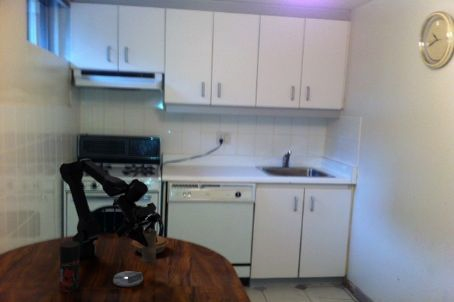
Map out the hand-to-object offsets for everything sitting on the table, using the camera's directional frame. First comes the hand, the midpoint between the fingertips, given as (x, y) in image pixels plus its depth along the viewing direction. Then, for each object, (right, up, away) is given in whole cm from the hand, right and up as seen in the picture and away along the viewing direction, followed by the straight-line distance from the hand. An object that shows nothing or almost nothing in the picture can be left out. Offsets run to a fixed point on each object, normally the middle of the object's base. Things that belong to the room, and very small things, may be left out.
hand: (152, 244), depth 138 cm
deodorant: (-26, -12, -10) cm, 30 cm away
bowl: (-8, -12, -2) cm, 15 cm away
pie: (-6, -9, +28) cm, 30 cm away
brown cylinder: (-2, -6, +1) cm, 7 cm away
